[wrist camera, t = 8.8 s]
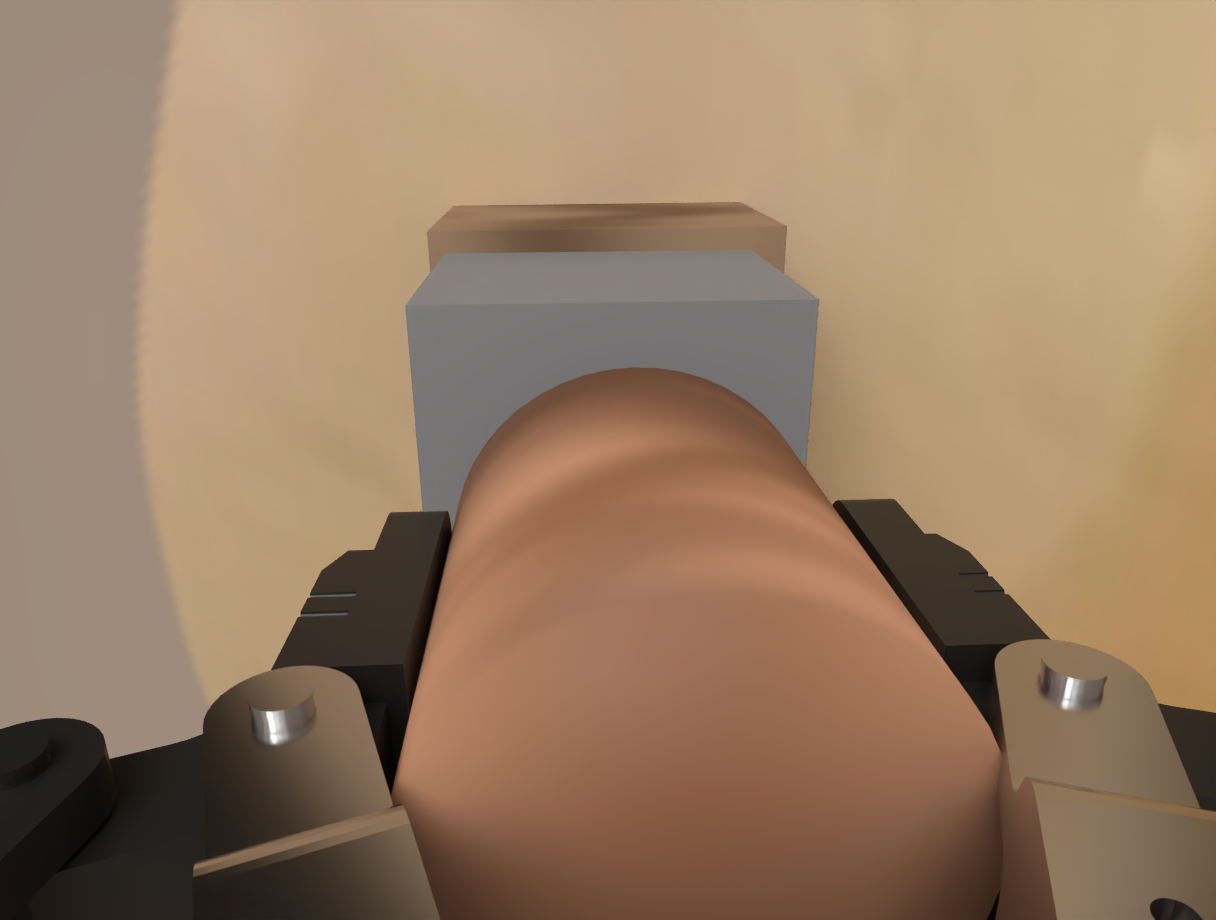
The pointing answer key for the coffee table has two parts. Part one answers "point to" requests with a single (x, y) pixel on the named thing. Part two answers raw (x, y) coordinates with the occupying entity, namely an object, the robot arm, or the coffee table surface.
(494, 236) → the tower base
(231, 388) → the coffee table surface
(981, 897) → the brown rounded knob
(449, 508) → the tower top
